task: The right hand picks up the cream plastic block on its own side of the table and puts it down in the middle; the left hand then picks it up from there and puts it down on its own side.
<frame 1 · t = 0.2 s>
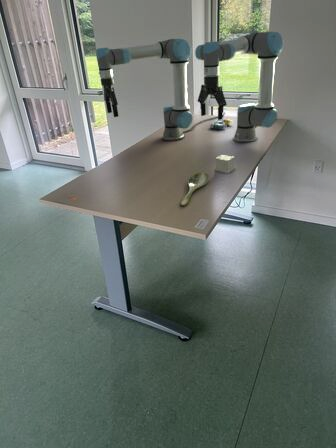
left hand: (112, 114, 206), 28 cm above the table, tool pointing down, fingers open, 13 cm apart
right hand: (211, 117, 184), 27 cm above the table, tool pointing down, fingers open, 13 cm apart
spray gun: (222, 126, 265), on the table
block: (225, 169, 190), on the table
spoon: (193, 190, 170), on the table
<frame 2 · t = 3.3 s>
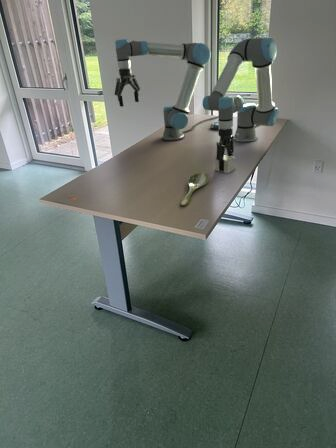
left hand: (129, 104, 216), 31 cm above the table, tool pointing down, fingers open, 13 cm apart
right hand: (225, 168, 189), 1 cm above the table, tool pointing down, fingers closed on block, 7 cm apart
block: (225, 169, 190), on the table, touching right hand
everything else where it was.
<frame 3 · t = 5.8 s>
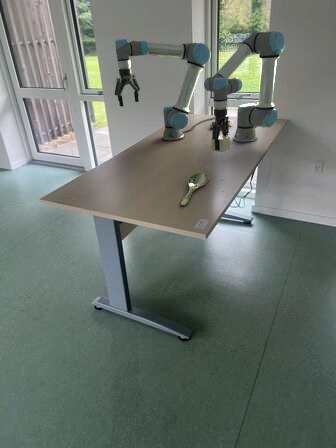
left hand: (129, 104, 216), 31 cm above the table, tool pointing down, fingers open, 13 cm apart
right hand: (220, 148, 197), 8 cm above the table, tool pointing down, fingers closed on block, 7 cm apart
block: (220, 149, 198), point 7 cm above the table, touching right hand
everything else where it was.
when the right hand's fingers open (2 cm above the table, at t = 8.7 s): block drops 1 cm, on the table.
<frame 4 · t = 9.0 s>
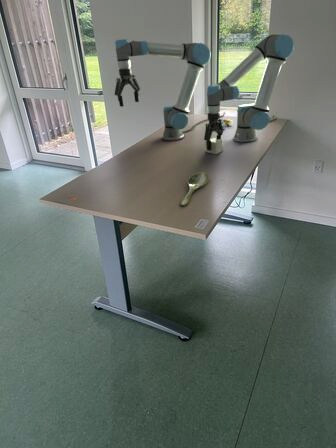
left hand: (129, 104, 216), 31 cm above the table, tool pointing down, fingers open, 13 cm apart
right hand: (213, 147, 215), 3 cm above the table, tool pointing down, fingers open, 10 cm apart
block: (213, 151, 217), on the table
everything else where it was.
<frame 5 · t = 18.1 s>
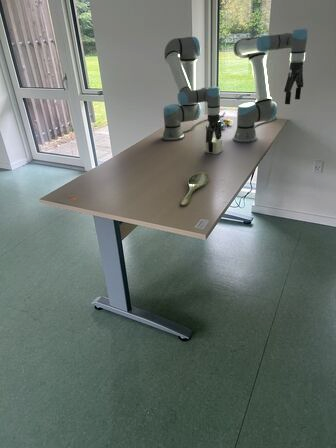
left hand: (213, 150, 216), 1 cm above the table, tool pointing down, fingers closed on block, 7 cm apart
right hand: (292, 101, 195), 29 cm above the table, tool pointing down, fingers open, 13 cm apart
block: (213, 151, 217), on the table, touching left hand
everything else where it was.
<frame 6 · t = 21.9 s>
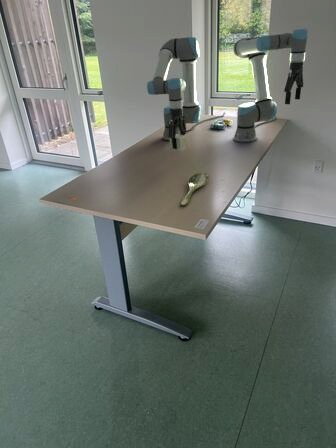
left hand: (178, 146, 203), 9 cm above the table, tool pointing down, fingers closed on block, 7 cm apart
right hand: (292, 101, 195), 29 cm above the table, tool pointing down, fingers open, 13 cm apart
block: (178, 148, 204), point 8 cm above the table, touching left hand
everything else where it was.
when the left hand's fingers open (2 cm above the table, at t = 25.6 s): block stays where it is, on the table.
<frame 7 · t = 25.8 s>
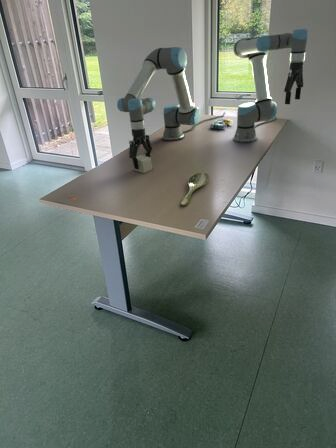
left hand: (142, 165, 198), 2 cm above the table, tool pointing down, fingers open, 9 cm apart
right hand: (292, 101, 195), 29 cm above the table, tool pointing down, fingers open, 13 cm apart
block: (143, 169, 199), on the table
everything else where it was.
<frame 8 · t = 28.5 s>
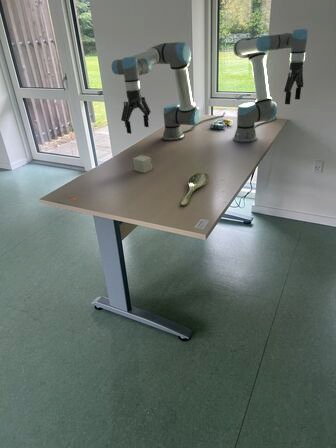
left hand: (138, 130, 187), 24 cm above the table, tool pointing down, fingers open, 13 cm apart
right hand: (292, 101, 195), 29 cm above the table, tool pointing down, fingers open, 13 cm apart
nothing on the table moved.
at the end: block inside the target area (0.0 cm from its centre), on the table; block tilted 0°; the two hands never held the block at the same time; the left hand is holding nothing; the right hand is holding nothing; block at rest at the end (0.0 cm/s) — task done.
